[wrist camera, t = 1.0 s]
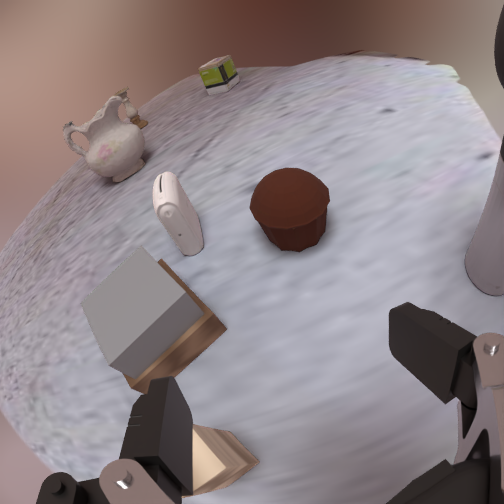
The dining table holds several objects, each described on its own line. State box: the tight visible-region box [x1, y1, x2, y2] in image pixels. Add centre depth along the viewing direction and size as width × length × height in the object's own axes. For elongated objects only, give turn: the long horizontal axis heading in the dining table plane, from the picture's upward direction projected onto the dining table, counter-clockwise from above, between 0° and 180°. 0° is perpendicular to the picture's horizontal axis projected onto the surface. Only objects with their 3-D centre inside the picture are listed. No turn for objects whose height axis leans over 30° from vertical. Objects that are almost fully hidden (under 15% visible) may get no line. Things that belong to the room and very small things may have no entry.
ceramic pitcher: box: [63, 96, 145, 182], centre depth 70 cm, size 22×20×25 cm
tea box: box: [198, 55, 240, 95], centre depth 105 cm, size 15×10×15 cm
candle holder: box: [113, 87, 148, 129], centre depth 101 cm, size 9×9×20 cm
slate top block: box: [81, 245, 204, 379], centre depth 32 cm, size 12×12×5 cm
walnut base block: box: [123, 259, 227, 394], centre depth 36 cm, size 14×14×5 cm
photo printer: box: [153, 172, 203, 256], centre depth 45 cm, size 10×4×12 cm, turn 16°
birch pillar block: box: [182, 424, 259, 498], centre depth 21 cm, size 5×5×10 cm
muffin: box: [250, 168, 330, 252], centre depth 39 cm, size 12×11×10 cm
